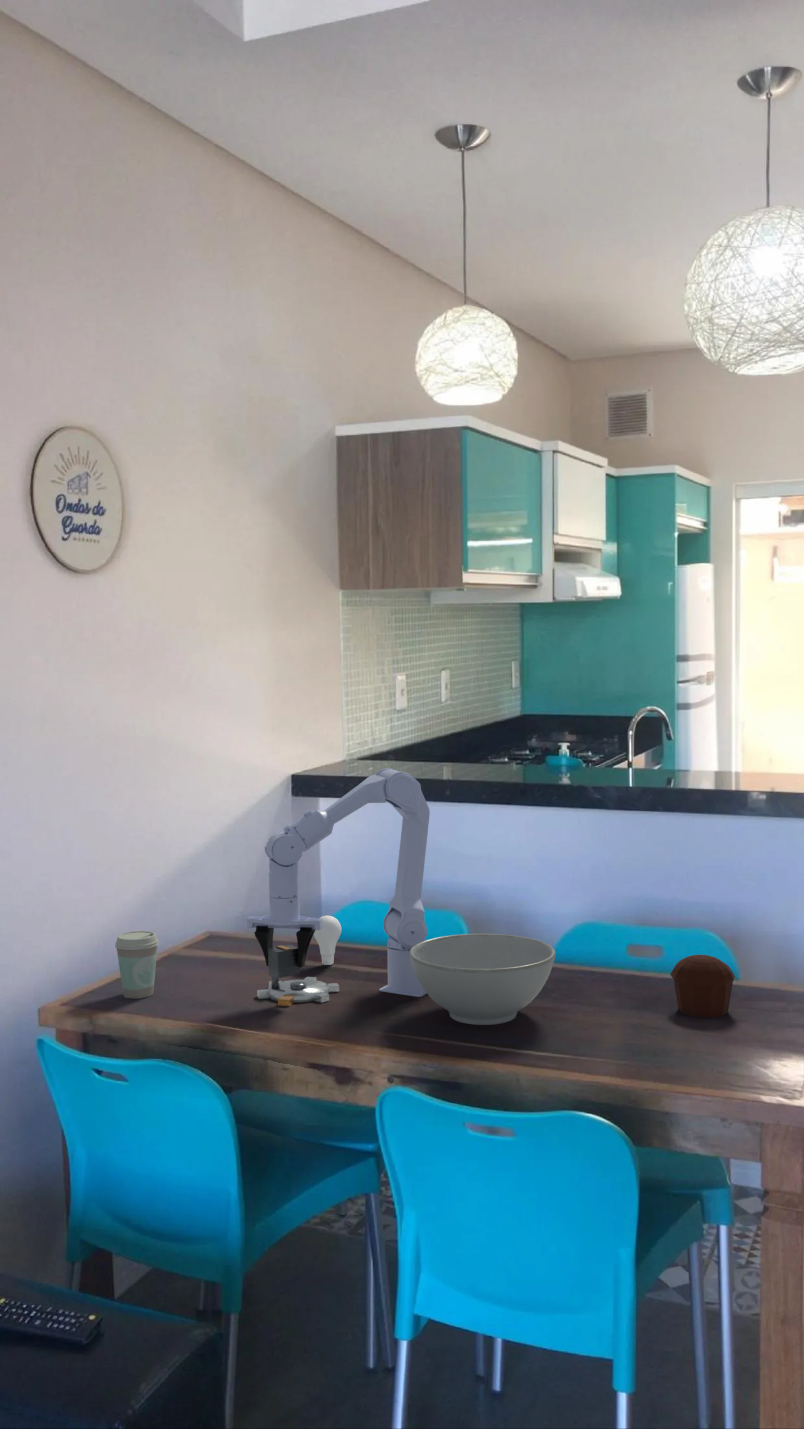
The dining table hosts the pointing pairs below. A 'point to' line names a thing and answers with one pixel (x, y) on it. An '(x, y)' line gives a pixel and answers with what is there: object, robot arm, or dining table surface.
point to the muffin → (703, 986)
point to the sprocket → (297, 991)
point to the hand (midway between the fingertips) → (285, 965)
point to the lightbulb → (328, 938)
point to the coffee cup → (137, 962)
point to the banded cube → (283, 961)
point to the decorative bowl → (482, 974)
